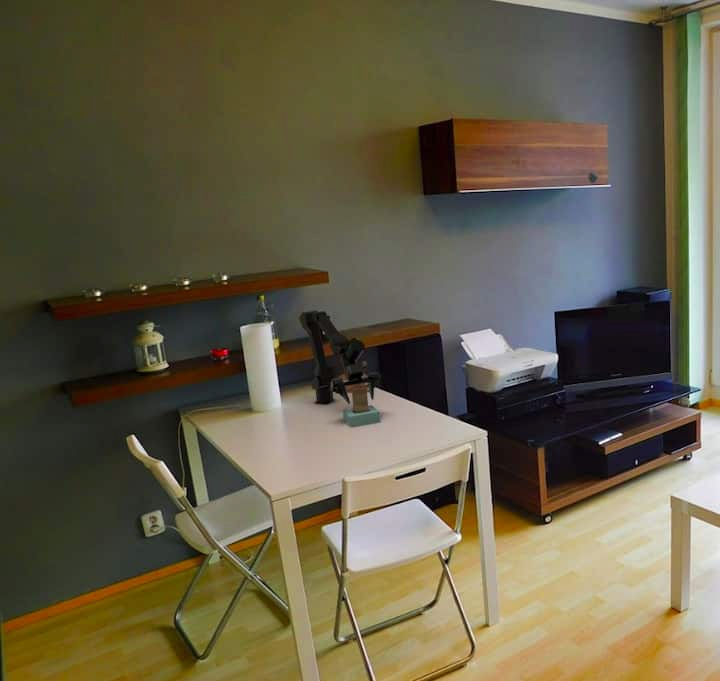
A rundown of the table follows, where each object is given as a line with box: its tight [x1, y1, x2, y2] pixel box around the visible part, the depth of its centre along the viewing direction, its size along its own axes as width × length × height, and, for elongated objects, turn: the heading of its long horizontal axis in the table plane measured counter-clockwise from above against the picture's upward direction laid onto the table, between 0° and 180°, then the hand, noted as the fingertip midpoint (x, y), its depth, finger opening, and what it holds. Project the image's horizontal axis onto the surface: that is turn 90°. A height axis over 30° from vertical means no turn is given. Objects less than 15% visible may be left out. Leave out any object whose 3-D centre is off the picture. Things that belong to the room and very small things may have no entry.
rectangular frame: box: [342, 404, 381, 428], centre depth 230 cm, size 10×12×4 cm
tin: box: [338, 373, 369, 394], centre depth 271 cm, size 15×3×8 cm, turn 76°
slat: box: [351, 386, 369, 414], centre depth 229 cm, size 3×5×13 cm, turn 107°
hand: (361, 401), depth 227 cm, fingers open, 9 cm apart
